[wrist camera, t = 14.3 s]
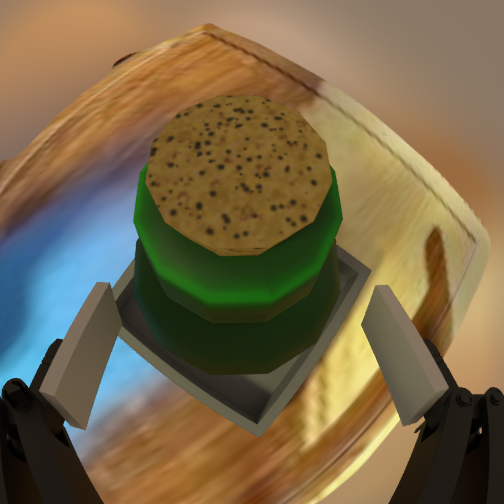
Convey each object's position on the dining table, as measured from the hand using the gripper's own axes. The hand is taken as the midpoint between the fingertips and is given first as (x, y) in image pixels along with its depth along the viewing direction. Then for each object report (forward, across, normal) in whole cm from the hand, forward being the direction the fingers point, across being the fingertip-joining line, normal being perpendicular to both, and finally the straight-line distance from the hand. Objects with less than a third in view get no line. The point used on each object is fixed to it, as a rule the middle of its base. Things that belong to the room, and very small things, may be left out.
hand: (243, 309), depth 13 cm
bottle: (+15, 0, -12) cm, 19 cm away
